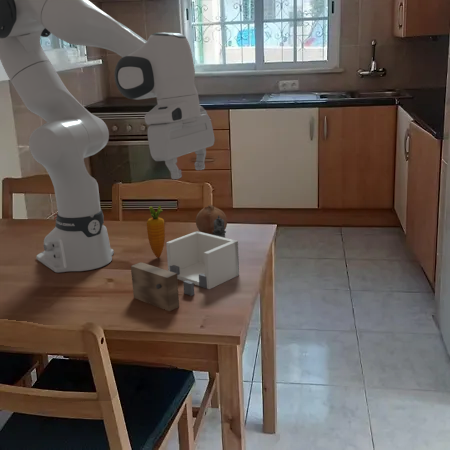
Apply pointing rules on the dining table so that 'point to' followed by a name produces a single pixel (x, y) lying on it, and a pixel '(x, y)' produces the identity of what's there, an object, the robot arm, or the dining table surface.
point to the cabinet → (202, 260)
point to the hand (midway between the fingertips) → (189, 174)
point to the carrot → (156, 231)
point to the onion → (209, 219)
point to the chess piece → (219, 227)
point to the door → (155, 286)
